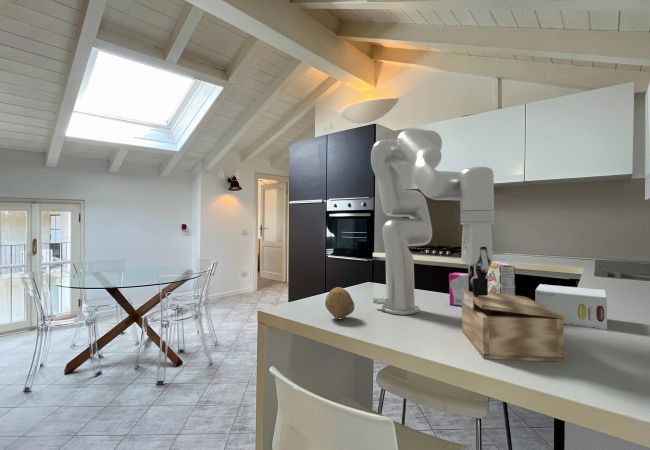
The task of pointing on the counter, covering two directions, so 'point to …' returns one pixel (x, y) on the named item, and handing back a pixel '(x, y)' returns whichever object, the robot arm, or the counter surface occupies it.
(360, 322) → the counter surface
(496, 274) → the candy bar box
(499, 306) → the wooden box lid
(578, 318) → the supplement box
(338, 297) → the brown potato
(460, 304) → the supplement box
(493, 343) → the wooden box
